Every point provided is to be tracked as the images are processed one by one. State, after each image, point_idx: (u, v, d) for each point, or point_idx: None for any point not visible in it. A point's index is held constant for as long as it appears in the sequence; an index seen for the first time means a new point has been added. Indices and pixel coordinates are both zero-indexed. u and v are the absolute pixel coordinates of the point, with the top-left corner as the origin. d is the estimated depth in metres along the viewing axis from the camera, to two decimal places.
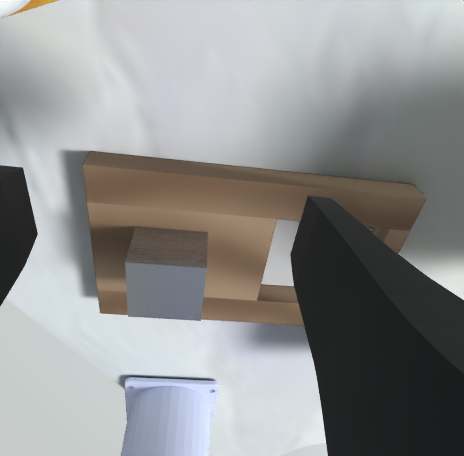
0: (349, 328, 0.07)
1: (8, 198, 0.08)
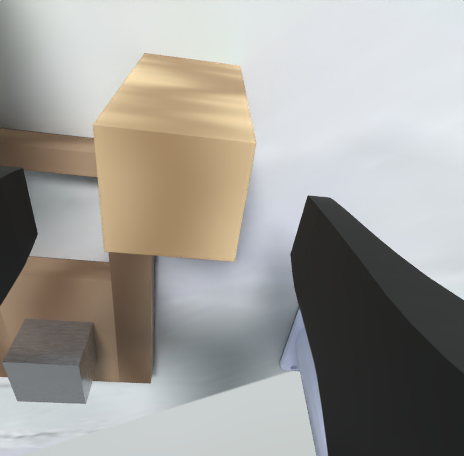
0: (349, 328, 0.07)
1: (8, 198, 0.08)
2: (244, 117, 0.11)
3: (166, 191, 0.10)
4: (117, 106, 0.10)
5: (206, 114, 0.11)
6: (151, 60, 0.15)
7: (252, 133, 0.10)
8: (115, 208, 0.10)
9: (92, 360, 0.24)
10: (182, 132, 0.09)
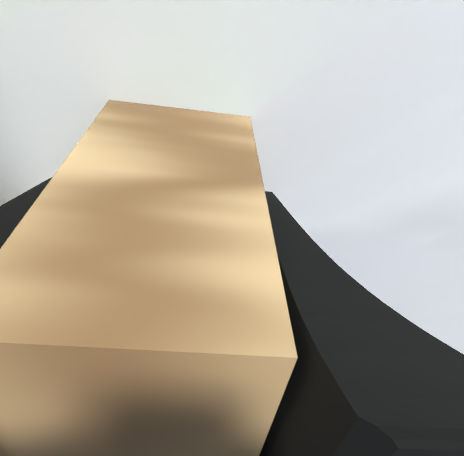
0: None
1: None
2: (265, 258, 0.06)
3: (116, 420, 0.05)
4: (19, 253, 0.05)
5: (194, 258, 0.06)
6: (116, 115, 0.10)
7: (286, 317, 0.05)
8: (19, 442, 0.05)
9: None
10: (139, 339, 0.04)
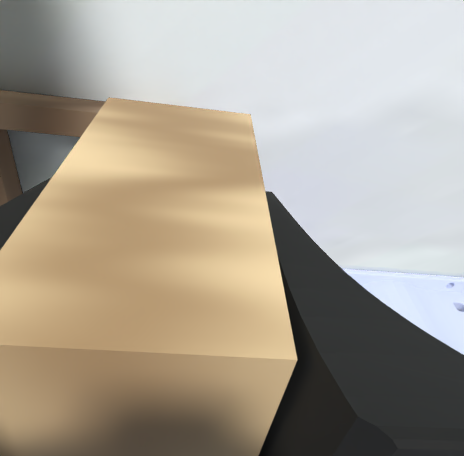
0: None
1: None
2: (266, 259, 0.06)
3: (117, 421, 0.05)
4: (19, 254, 0.05)
5: (194, 259, 0.06)
6: (116, 113, 0.10)
7: (286, 319, 0.05)
8: (21, 440, 0.05)
9: None
10: (140, 341, 0.04)
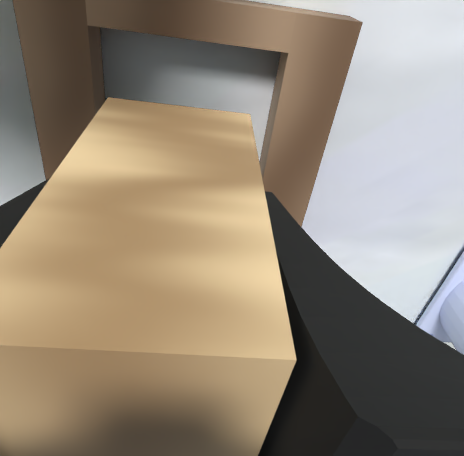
0: None
1: None
2: (264, 259, 0.06)
3: (115, 421, 0.05)
4: (17, 254, 0.05)
5: (193, 259, 0.06)
6: (115, 113, 0.10)
7: (285, 319, 0.05)
8: (20, 442, 0.05)
9: None
10: (138, 341, 0.04)
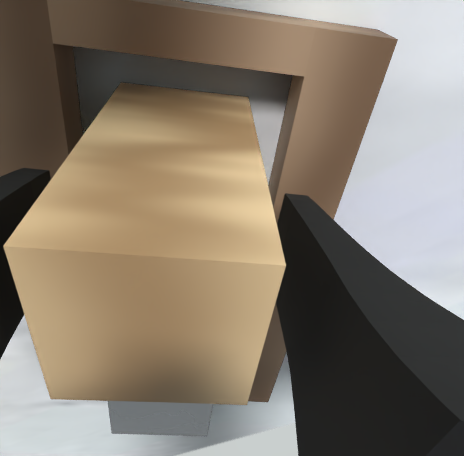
0: (318, 326, 0.07)
1: None
2: (261, 201, 0.07)
3: (139, 329, 0.06)
4: (59, 193, 0.06)
5: (202, 200, 0.07)
6: (128, 94, 0.11)
7: (277, 240, 0.06)
8: (59, 351, 0.07)
9: None
10: (161, 250, 0.05)
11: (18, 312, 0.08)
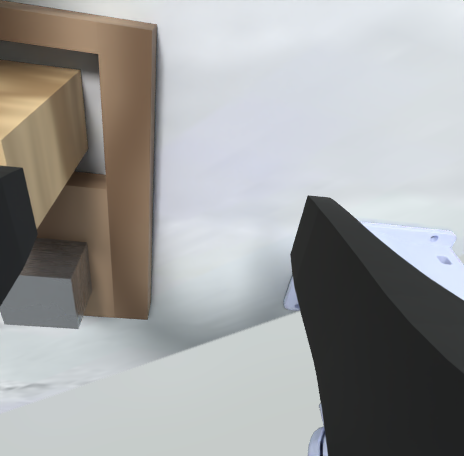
0: (349, 328, 0.07)
1: (8, 198, 0.08)
2: (19, 118, 0.12)
3: None
4: None
5: None
6: None
7: (8, 132, 0.11)
8: None
9: (85, 285, 0.22)
10: None
11: None
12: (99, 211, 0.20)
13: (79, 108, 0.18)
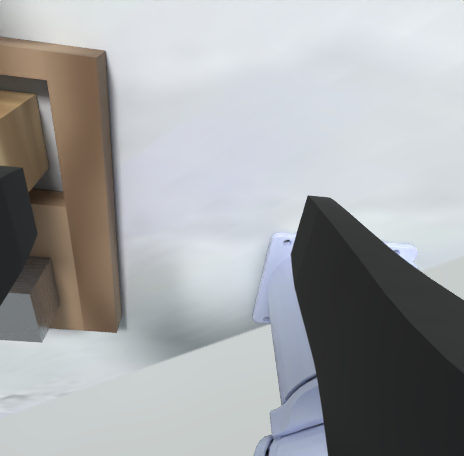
0: (349, 328, 0.07)
1: (8, 198, 0.08)
2: None
3: None
4: None
5: None
6: None
7: None
8: None
9: (51, 299, 0.23)
10: None
11: None
12: (60, 228, 0.21)
13: (35, 130, 0.18)
